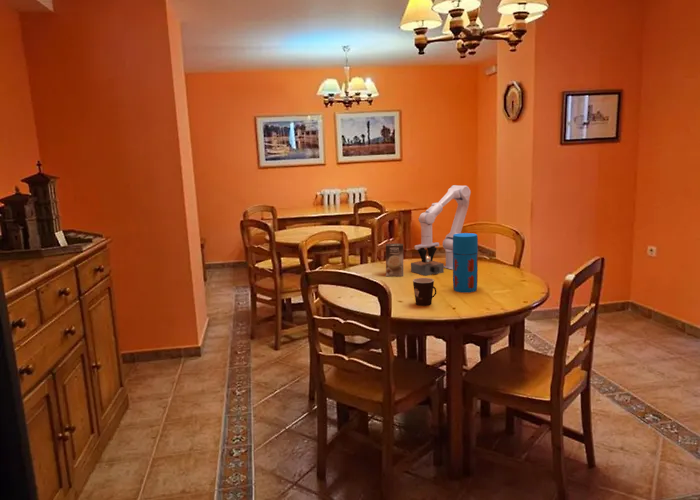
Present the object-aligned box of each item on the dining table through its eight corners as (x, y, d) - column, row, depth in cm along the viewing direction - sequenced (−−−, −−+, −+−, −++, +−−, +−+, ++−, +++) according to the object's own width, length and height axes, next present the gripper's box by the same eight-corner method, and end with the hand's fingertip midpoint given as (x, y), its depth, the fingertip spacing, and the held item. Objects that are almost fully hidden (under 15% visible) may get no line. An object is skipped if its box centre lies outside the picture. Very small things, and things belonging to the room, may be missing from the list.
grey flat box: (429, 268, 277) (429, 259, 277) (446, 273, 265) (446, 264, 265) (411, 271, 272) (410, 262, 271) (427, 276, 260) (427, 267, 259)
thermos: (478, 287, 236) (478, 233, 232) (476, 293, 226) (476, 237, 222) (454, 286, 240) (454, 232, 235) (451, 292, 230) (451, 236, 225)
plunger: (427, 269, 272) (427, 255, 271) (432, 270, 268) (432, 256, 267) (421, 270, 270) (421, 256, 269) (426, 271, 267) (426, 257, 265)
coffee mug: (411, 301, 218) (410, 278, 216) (431, 300, 218) (431, 277, 216) (417, 309, 206) (416, 285, 204) (438, 308, 207) (438, 284, 205)
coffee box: (385, 276, 263) (384, 245, 260) (386, 273, 269) (385, 243, 266) (403, 276, 262) (403, 245, 259) (403, 273, 268) (403, 243, 265)
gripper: (433, 233, 273) (433, 258, 275) (410, 236, 266) (411, 262, 268) (441, 234, 267) (441, 260, 269) (419, 238, 260) (419, 264, 262)
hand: (427, 261), depth 268 cm, fingers closed on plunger, 4 cm apart
